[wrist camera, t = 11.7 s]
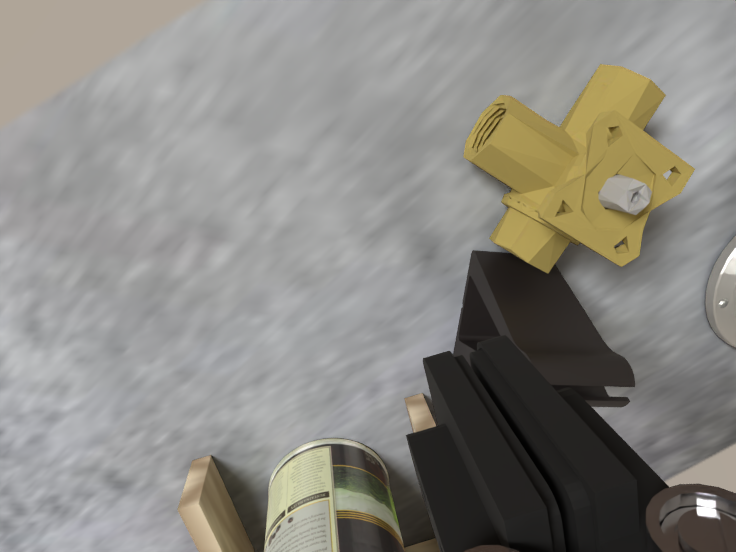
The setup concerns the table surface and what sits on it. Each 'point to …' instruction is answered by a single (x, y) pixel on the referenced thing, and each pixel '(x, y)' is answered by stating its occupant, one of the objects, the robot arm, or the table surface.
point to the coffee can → (331, 501)
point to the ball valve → (578, 170)
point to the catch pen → (219, 517)
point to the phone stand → (539, 326)
